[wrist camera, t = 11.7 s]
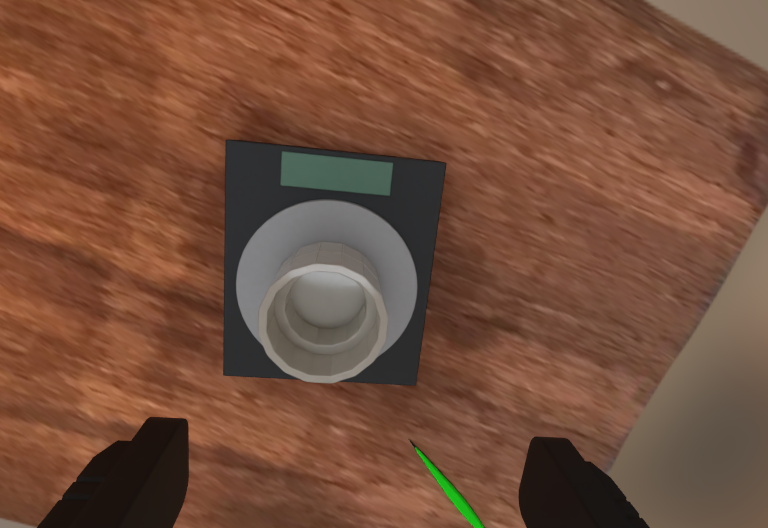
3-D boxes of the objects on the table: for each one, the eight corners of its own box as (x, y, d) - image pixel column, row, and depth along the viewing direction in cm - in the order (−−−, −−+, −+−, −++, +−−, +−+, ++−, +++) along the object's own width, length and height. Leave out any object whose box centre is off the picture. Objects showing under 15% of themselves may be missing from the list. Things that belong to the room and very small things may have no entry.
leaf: (496, 554, 36) (499, 563, 35) (402, 438, 32) (403, 445, 31) (505, 548, 36) (509, 557, 35) (412, 431, 32) (414, 438, 31)
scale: (237, 139, 25) (222, 139, 22) (438, 161, 27) (449, 163, 24) (233, 356, 29) (220, 380, 26) (410, 366, 30) (417, 391, 27)
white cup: (277, 235, 24) (260, 258, 19) (385, 244, 25) (394, 269, 20) (273, 335, 26) (256, 379, 21) (375, 341, 26) (380, 386, 21)
